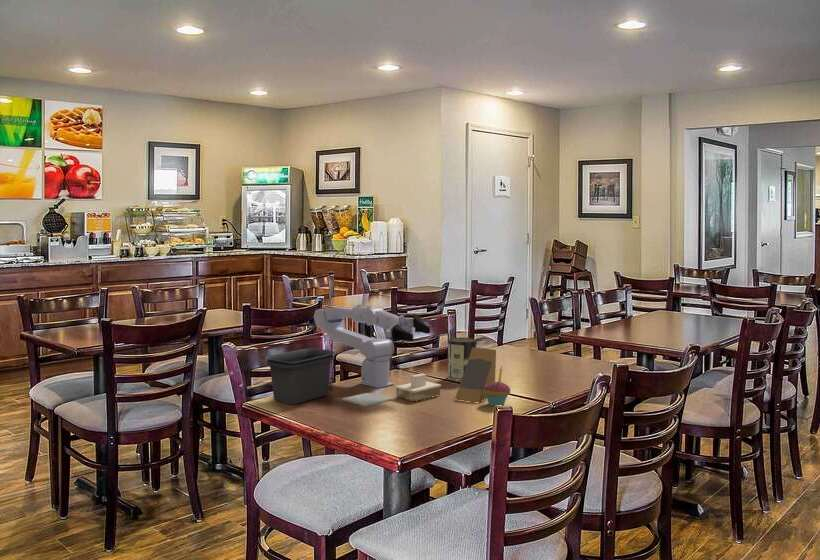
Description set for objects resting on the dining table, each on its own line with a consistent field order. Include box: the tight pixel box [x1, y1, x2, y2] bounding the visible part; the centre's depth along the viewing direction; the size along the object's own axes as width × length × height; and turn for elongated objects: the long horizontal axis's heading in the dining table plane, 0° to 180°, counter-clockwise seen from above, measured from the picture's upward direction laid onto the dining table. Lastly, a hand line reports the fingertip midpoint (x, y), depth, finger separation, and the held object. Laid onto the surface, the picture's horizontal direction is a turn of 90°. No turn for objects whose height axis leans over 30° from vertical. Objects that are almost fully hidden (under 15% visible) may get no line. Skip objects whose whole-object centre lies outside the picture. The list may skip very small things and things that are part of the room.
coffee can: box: [447, 337, 478, 382], centre depth 267 cm, size 10×10×14 cm
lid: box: [394, 373, 442, 393], centre depth 240 cm, size 9×13×5 cm
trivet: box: [341, 392, 392, 407], centre depth 234 cm, size 11×11×1 cm
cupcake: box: [483, 365, 511, 407], centre depth 230 cm, size 9×8×12 cm
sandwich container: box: [454, 347, 497, 403], centre depth 239 cm, size 9×15×15 cm, turn 153°
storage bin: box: [265, 347, 336, 406], centre depth 236 cm, size 21×16×14 cm
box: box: [395, 387, 441, 402], centre depth 240 cm, size 8×12×3 cm, turn 136°
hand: (420, 334), depth 240 cm, fingers open, 7 cm apart
